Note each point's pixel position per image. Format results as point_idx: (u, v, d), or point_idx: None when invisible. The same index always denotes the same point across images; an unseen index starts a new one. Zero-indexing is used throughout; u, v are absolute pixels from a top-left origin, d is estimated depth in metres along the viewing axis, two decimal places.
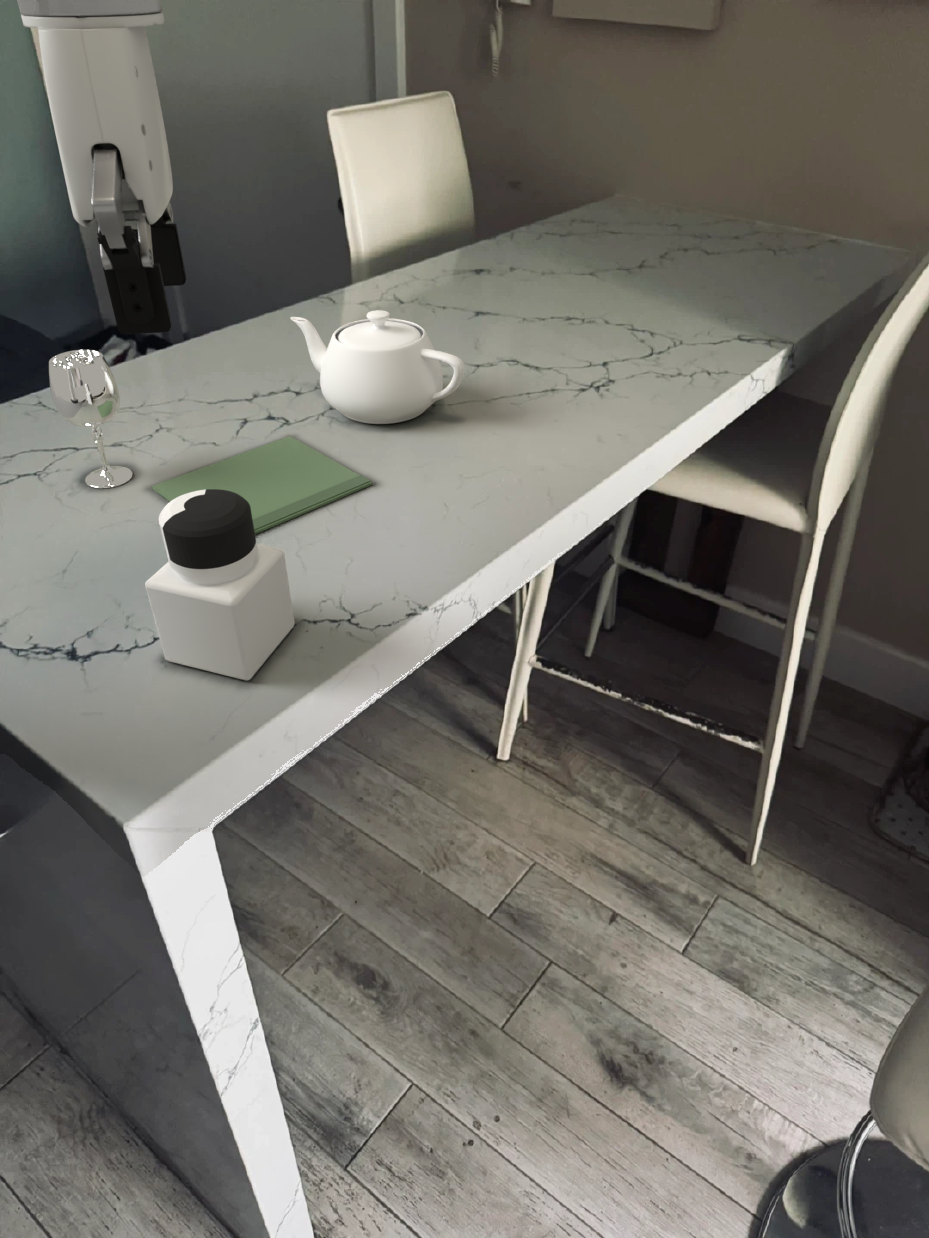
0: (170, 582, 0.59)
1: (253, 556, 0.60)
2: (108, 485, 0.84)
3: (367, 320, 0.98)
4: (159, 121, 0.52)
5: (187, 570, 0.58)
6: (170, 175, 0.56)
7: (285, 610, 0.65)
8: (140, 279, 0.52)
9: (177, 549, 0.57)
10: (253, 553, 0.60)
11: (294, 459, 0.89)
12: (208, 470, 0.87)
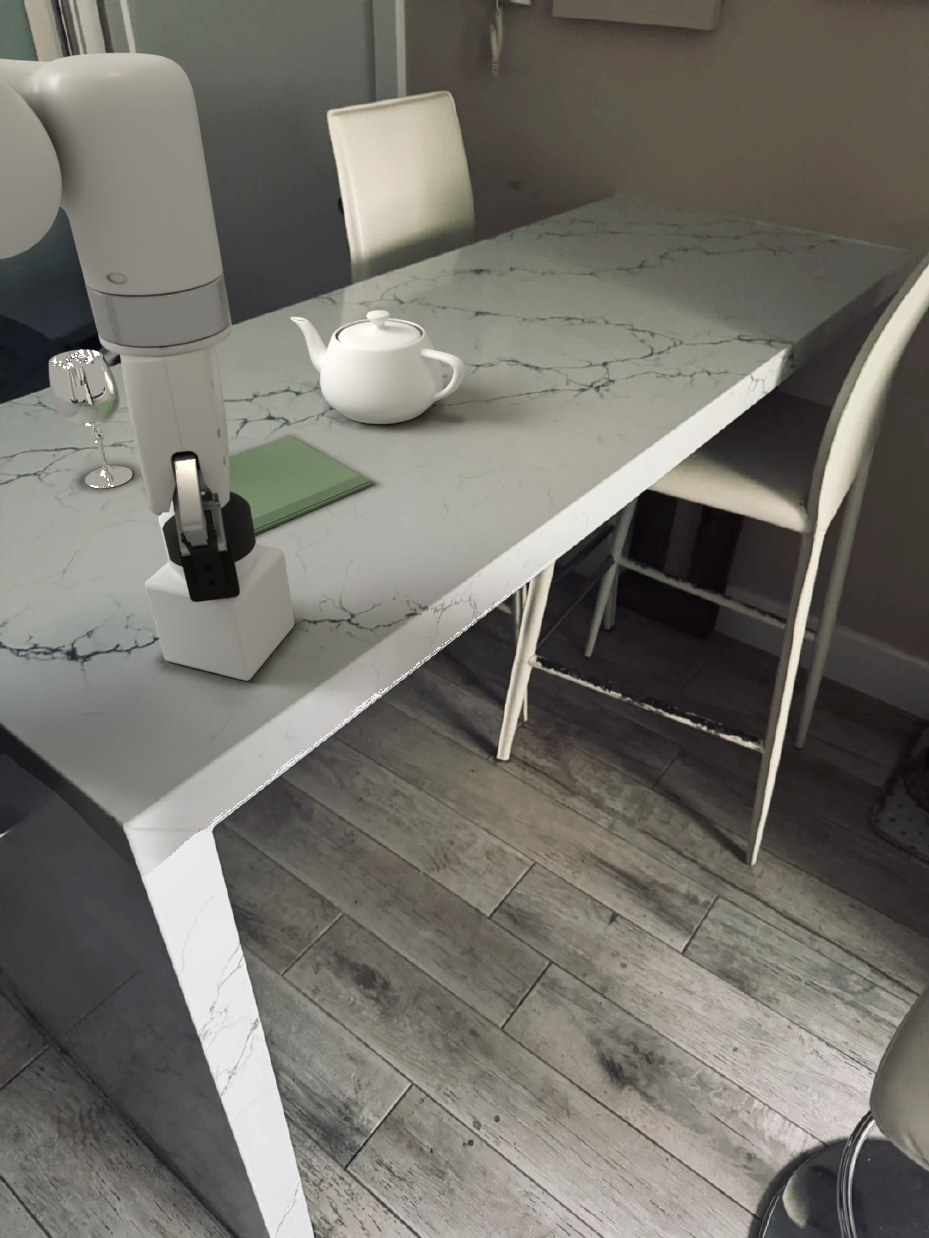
0: (170, 582, 0.59)
1: (253, 556, 0.60)
2: (108, 485, 0.84)
3: (367, 320, 0.98)
4: (224, 406, 0.55)
5: None
6: None
7: (285, 610, 0.65)
8: (215, 560, 0.55)
9: (177, 550, 0.57)
10: (253, 553, 0.60)
11: (294, 459, 0.89)
12: None
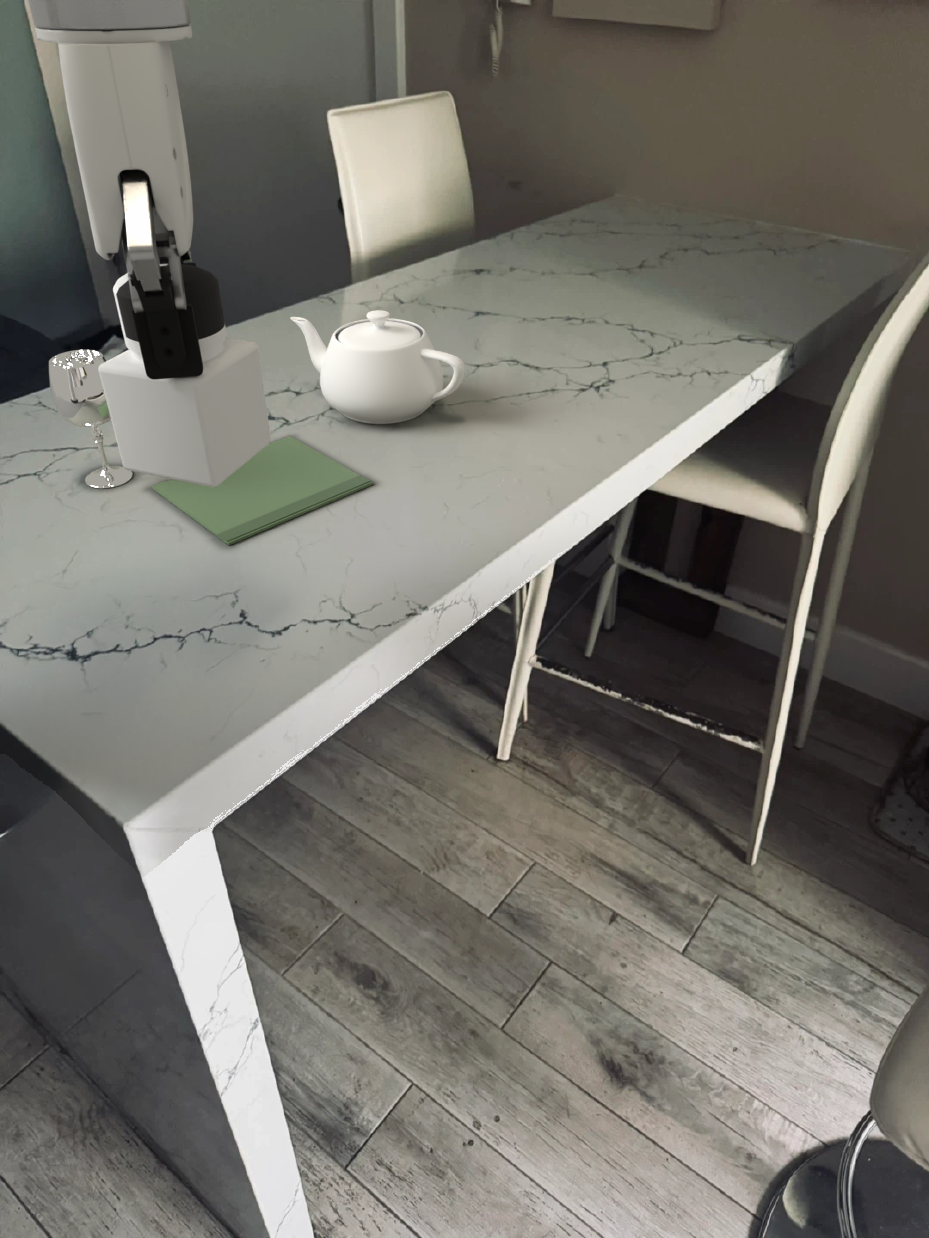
0: (126, 365, 0.52)
1: (221, 339, 0.53)
2: (108, 485, 0.84)
3: (367, 320, 0.98)
4: (185, 143, 0.48)
5: None
6: None
7: (259, 418, 0.58)
8: (173, 321, 0.48)
9: (133, 319, 0.50)
10: (221, 336, 0.53)
11: (294, 459, 0.89)
12: None
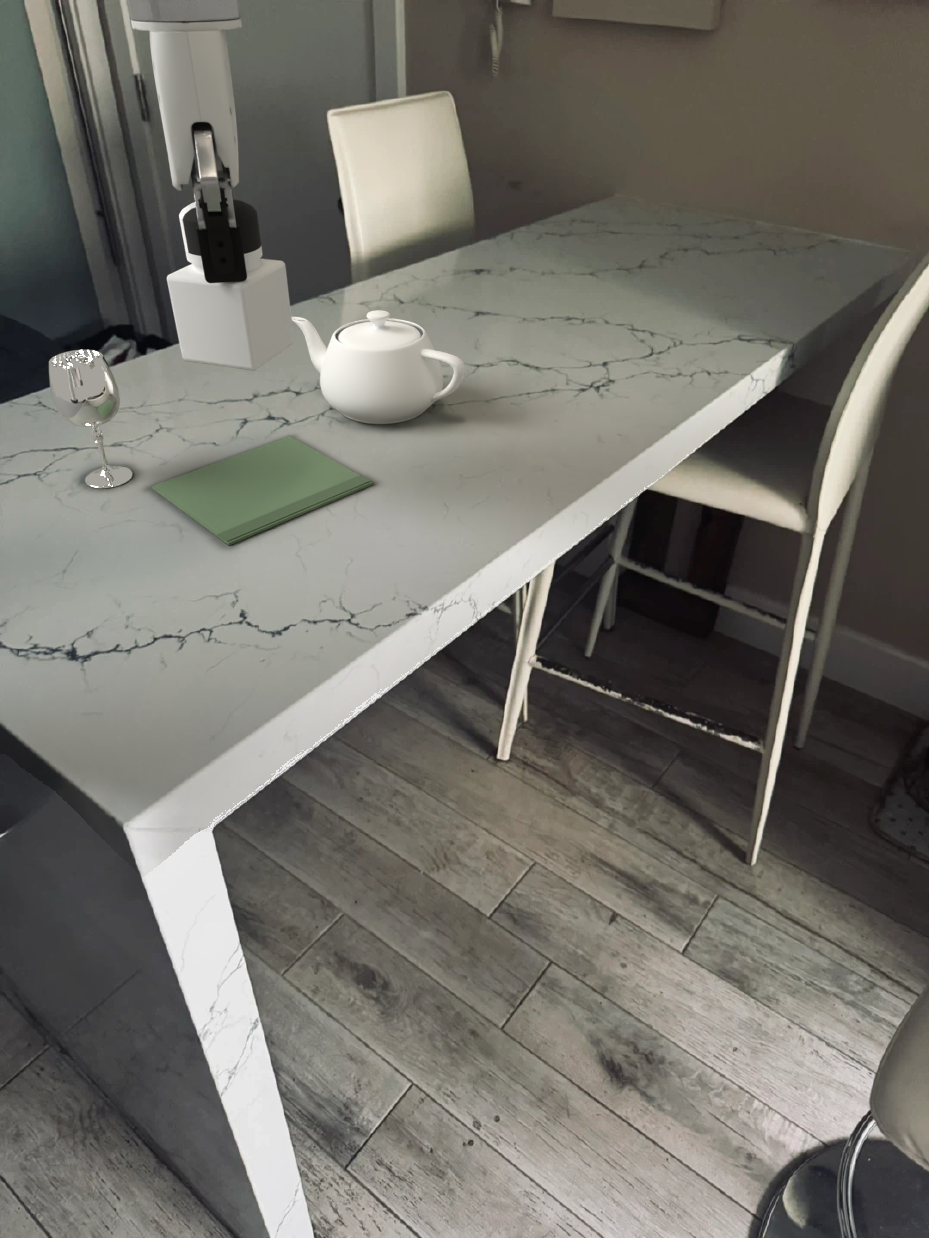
0: (188, 274, 0.70)
1: (259, 256, 0.70)
2: (108, 485, 0.84)
3: (367, 320, 0.98)
4: None
5: None
6: None
7: (286, 322, 0.75)
8: (226, 237, 0.65)
9: (195, 238, 0.68)
10: (259, 253, 0.70)
11: (294, 459, 0.89)
12: (208, 470, 0.87)
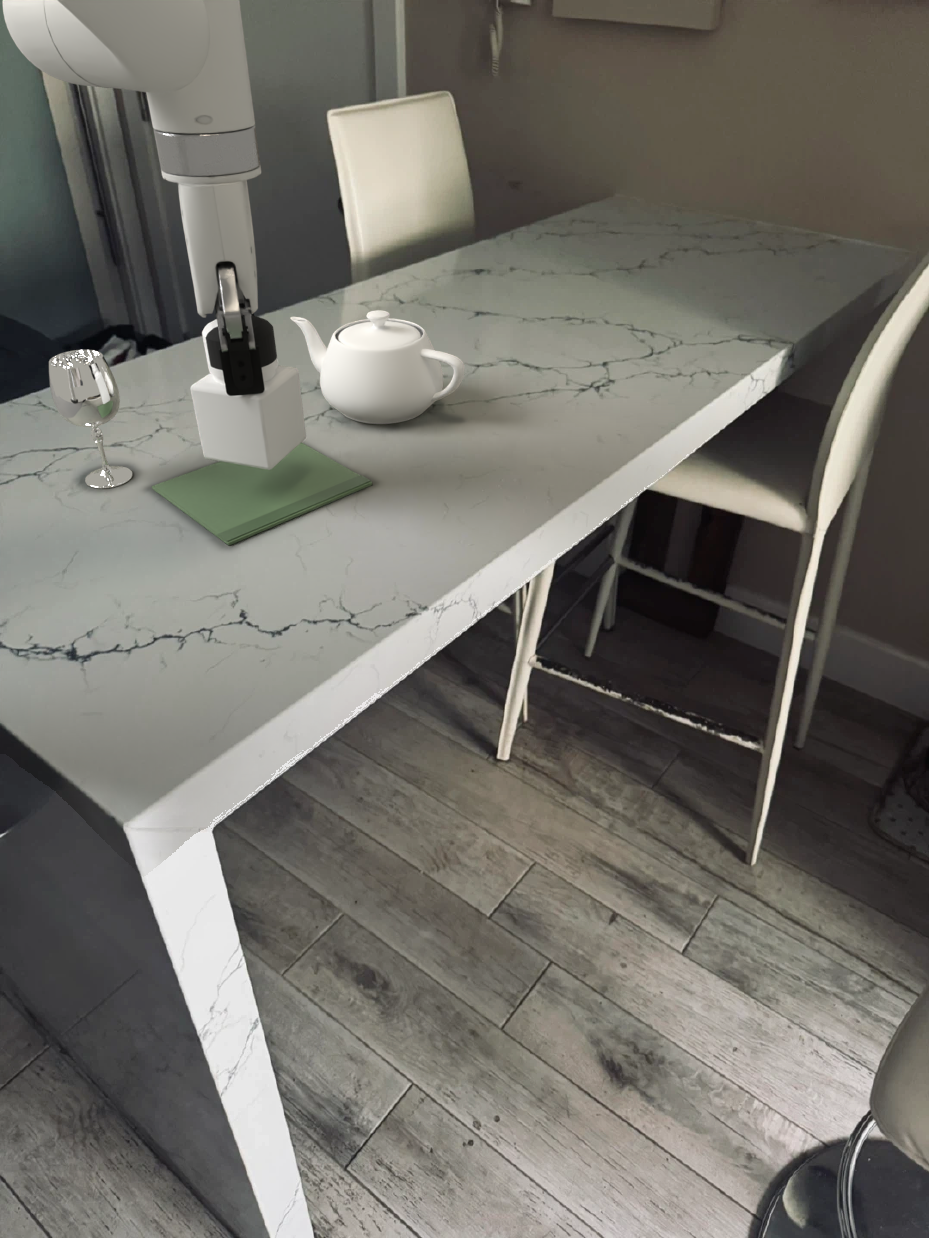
0: (210, 385, 0.76)
1: (275, 367, 0.77)
2: (108, 485, 0.84)
3: (367, 320, 0.98)
4: None
5: None
6: None
7: (299, 421, 0.82)
8: (246, 357, 0.72)
9: (217, 354, 0.74)
10: (275, 364, 0.77)
11: (294, 459, 0.89)
12: (208, 470, 0.87)
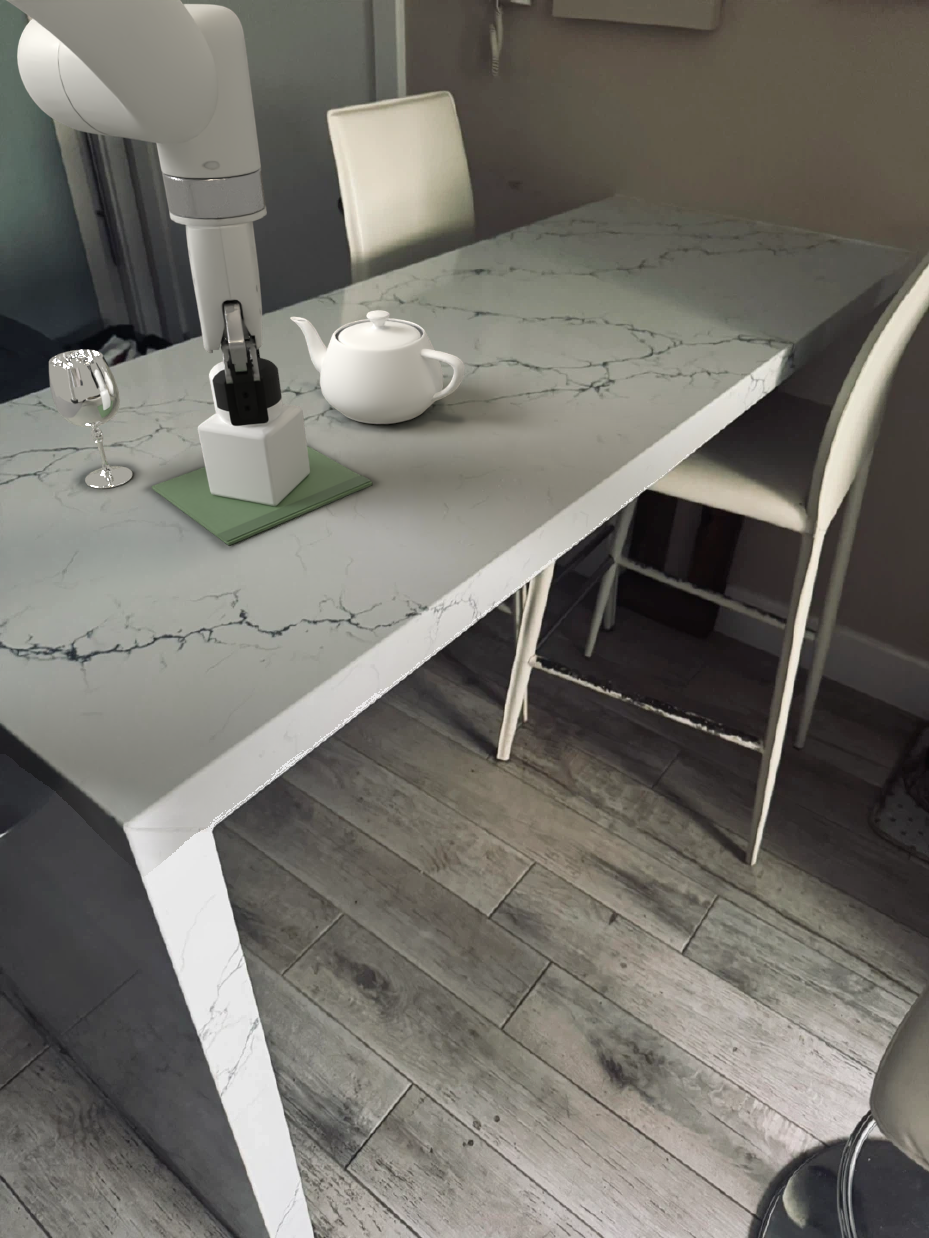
0: (217, 425, 0.78)
1: (280, 407, 0.79)
2: (108, 485, 0.84)
3: (367, 320, 0.98)
4: None
5: None
6: None
7: (303, 457, 0.84)
8: (251, 389, 0.73)
9: (223, 396, 0.76)
10: (279, 404, 0.79)
11: None
12: None
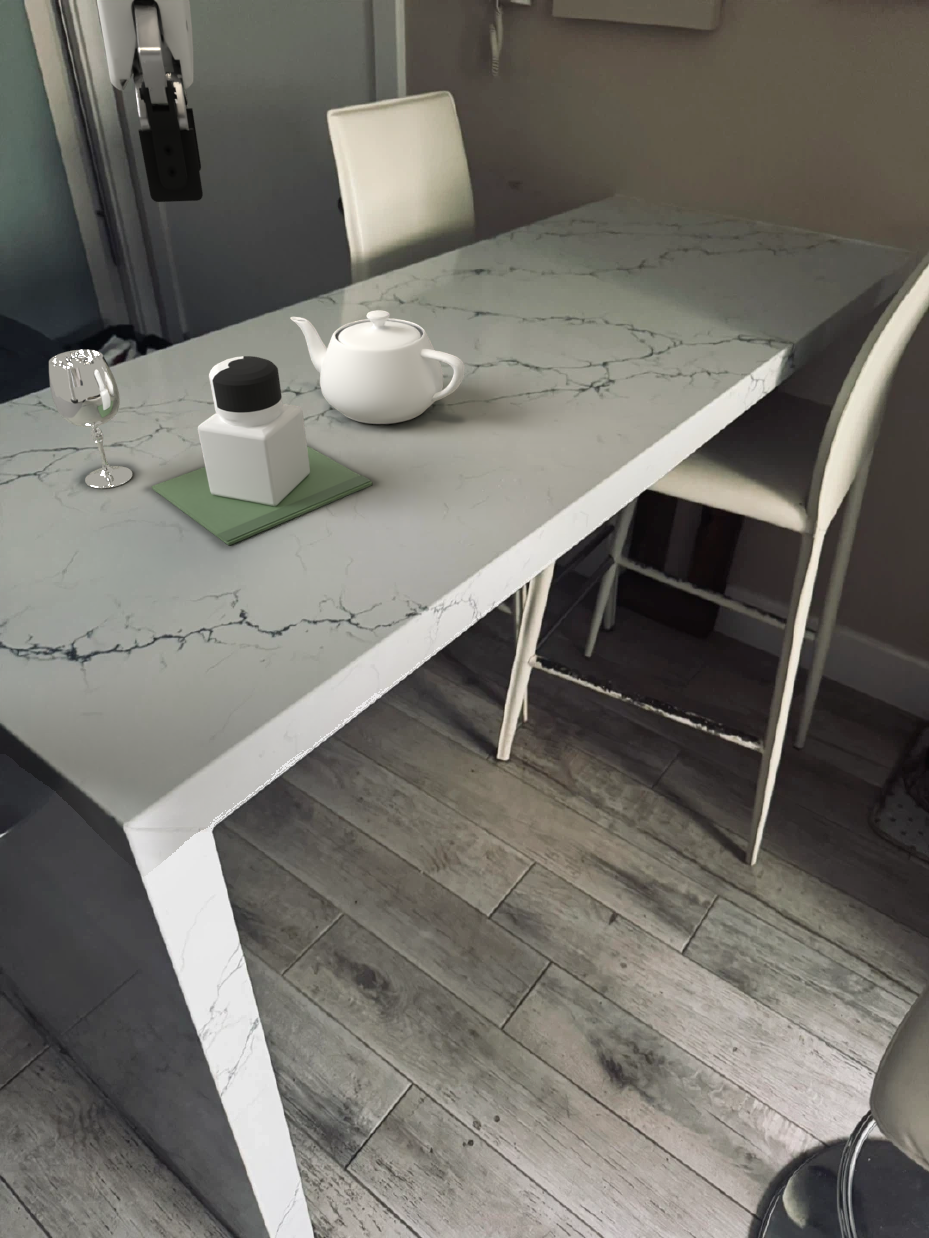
0: (217, 425, 0.78)
1: (280, 407, 0.79)
2: (108, 485, 0.84)
3: (367, 320, 0.98)
4: None
5: (230, 414, 0.77)
6: None
7: (303, 457, 0.84)
8: (176, 141, 0.53)
9: (223, 396, 0.76)
10: (279, 404, 0.79)
11: None
12: None
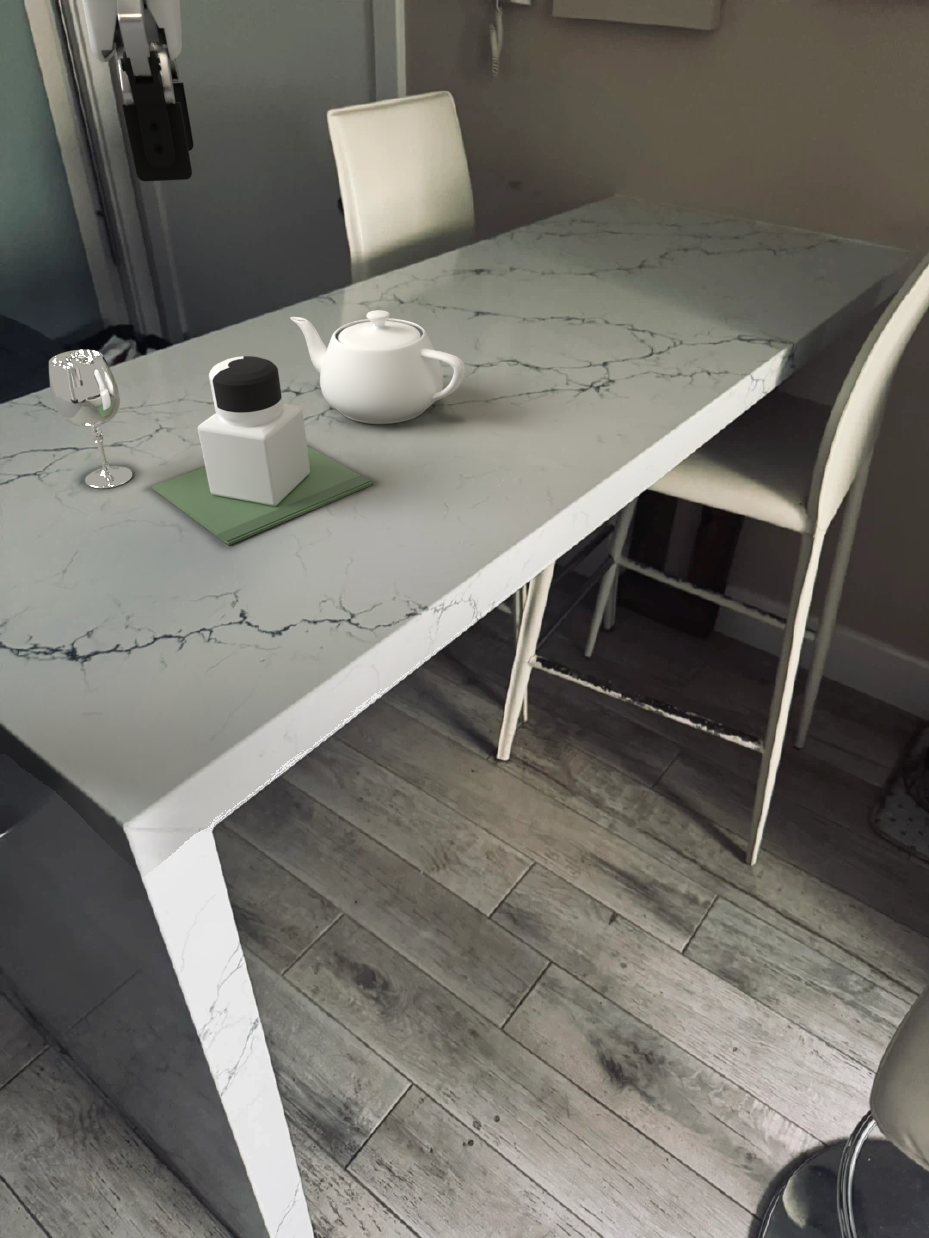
0: (217, 425, 0.78)
1: (280, 407, 0.79)
2: (108, 485, 0.84)
3: (367, 320, 0.98)
4: None
5: (230, 414, 0.77)
6: None
7: (303, 457, 0.84)
8: (162, 116, 0.50)
9: (223, 396, 0.76)
10: (279, 404, 0.79)
11: None
12: None
